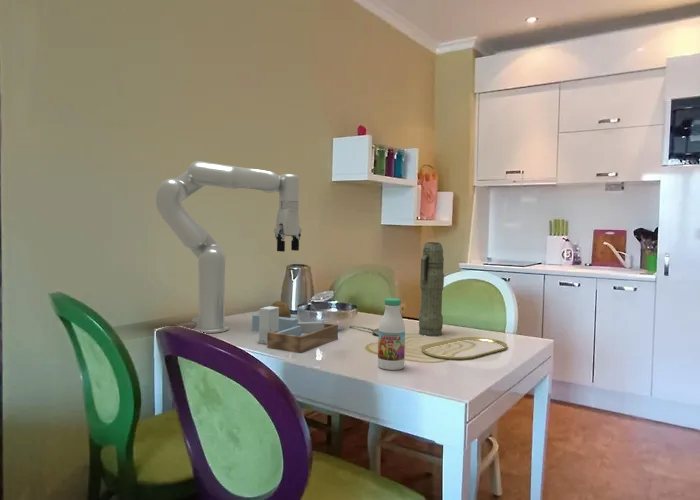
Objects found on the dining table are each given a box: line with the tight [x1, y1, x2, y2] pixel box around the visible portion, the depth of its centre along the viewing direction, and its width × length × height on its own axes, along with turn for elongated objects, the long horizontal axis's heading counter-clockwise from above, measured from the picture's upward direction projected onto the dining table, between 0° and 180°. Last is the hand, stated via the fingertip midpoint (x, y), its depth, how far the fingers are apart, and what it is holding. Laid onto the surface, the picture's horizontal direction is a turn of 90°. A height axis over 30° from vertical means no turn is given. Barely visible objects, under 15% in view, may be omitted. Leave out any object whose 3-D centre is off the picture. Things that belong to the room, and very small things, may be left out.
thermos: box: [418, 241, 445, 337], centre depth 199 cm, size 9×12×35 cm
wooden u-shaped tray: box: [266, 323, 339, 354], centre depth 180 cm, size 13×24×5 cm, turn 153°
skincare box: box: [258, 305, 279, 345], centre depth 180 cm, size 6×4×12 cm
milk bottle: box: [377, 297, 406, 371], centre depth 152 cm, size 8×8×20 cm
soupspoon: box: [349, 324, 379, 337], centre depth 201 cm, size 22×3×7 cm
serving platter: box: [421, 336, 508, 361], centre depth 176 cm, size 19×35×2 cm, turn 132°
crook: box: [251, 313, 302, 336], centre depth 188 cm, size 20×20×6 cm
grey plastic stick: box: [298, 321, 325, 335], centre depth 197 cm, size 12×3×4 cm, turn 103°
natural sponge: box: [270, 300, 292, 318], centre depth 208 cm, size 9×9×10 cm
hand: (288, 250), depth 202 cm, fingers open, 9 cm apart
